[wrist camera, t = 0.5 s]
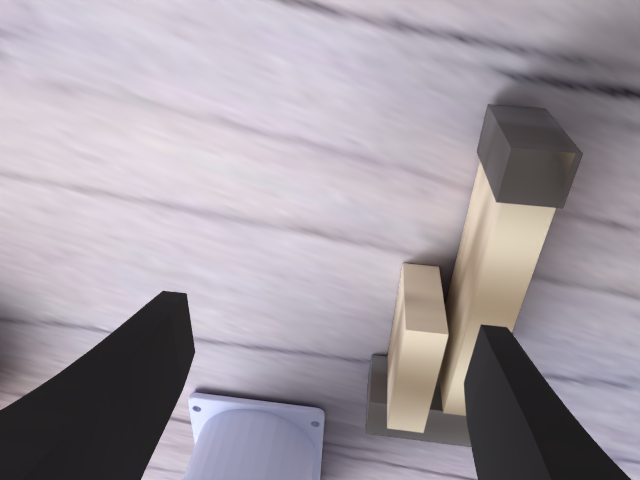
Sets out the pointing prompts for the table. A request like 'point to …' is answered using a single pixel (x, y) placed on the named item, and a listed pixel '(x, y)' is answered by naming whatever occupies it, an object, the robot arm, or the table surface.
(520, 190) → the bar
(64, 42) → the table surface
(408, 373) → the tong pivot
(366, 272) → the table surface
